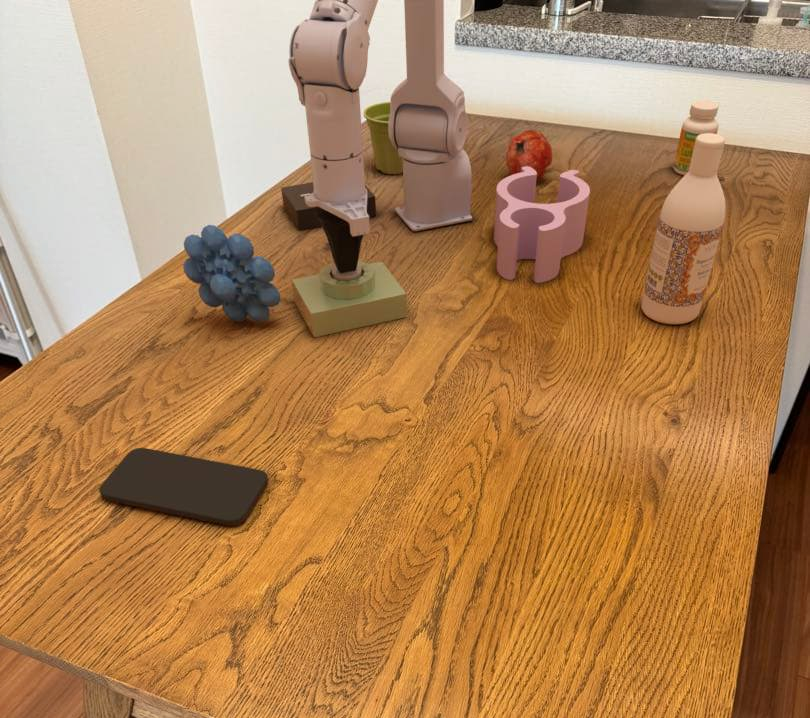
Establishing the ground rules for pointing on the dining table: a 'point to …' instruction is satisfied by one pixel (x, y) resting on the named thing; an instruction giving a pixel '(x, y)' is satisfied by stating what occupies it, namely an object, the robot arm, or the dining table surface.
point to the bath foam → (687, 238)
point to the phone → (185, 486)
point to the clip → (538, 223)
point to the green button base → (349, 299)
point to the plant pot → (382, 139)
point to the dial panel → (305, 214)
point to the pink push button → (347, 274)
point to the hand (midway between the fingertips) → (346, 269)
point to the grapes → (230, 274)
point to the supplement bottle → (694, 132)
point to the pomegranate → (529, 153)
